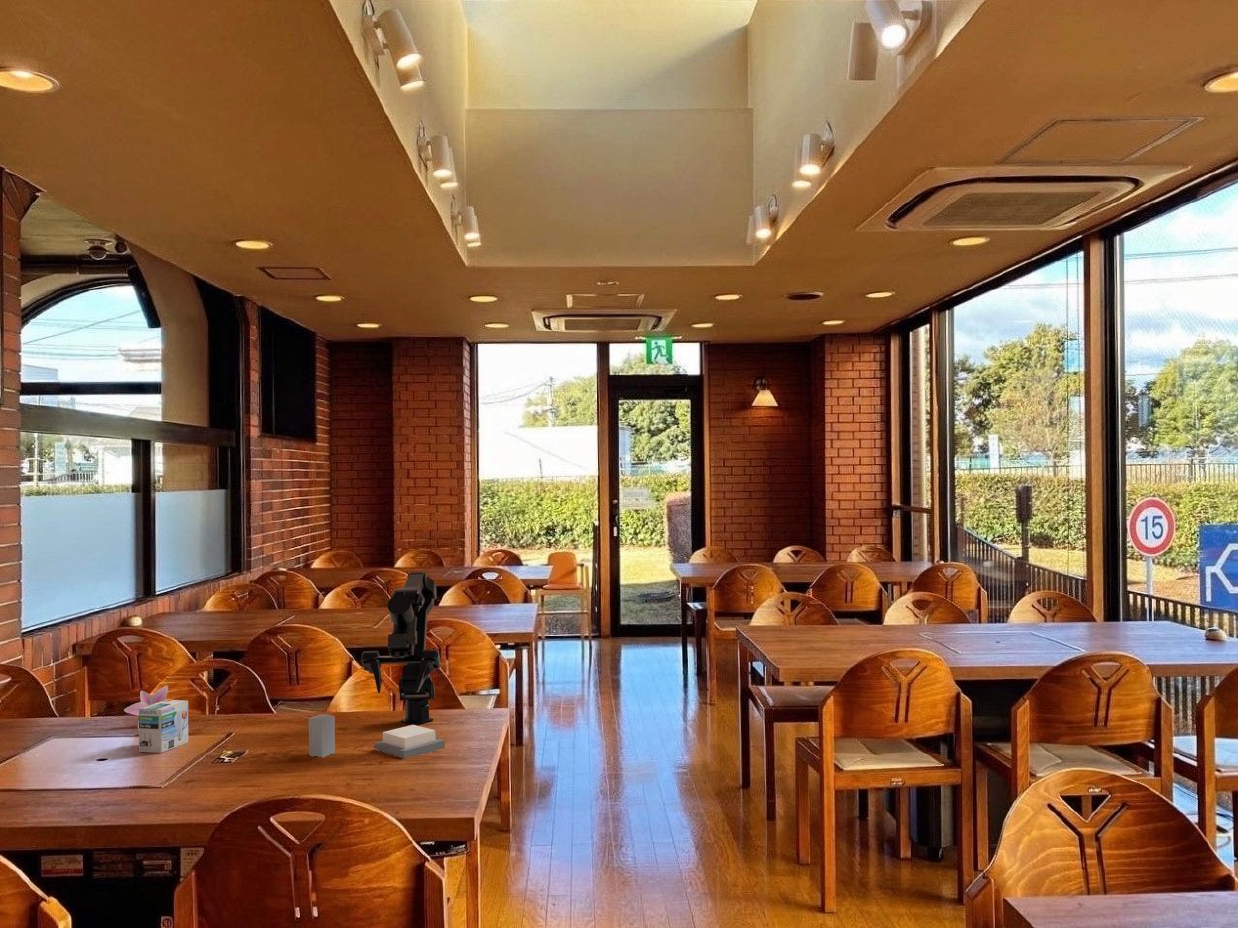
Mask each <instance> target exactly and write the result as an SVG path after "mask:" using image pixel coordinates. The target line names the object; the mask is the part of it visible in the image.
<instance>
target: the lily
mask: <svg viewBox="0 0 1238 928" xmlns="http://www.w3.org/2000/svg"><path fill="white" fill-rule="evenodd" d="M139 693H140V697H139V698H140V702H136V703H133V704H130V705H129V706H127V707H125V708H124V709H123V712H125V713H127V714H132V715H133V716H134V715H135V716H138V717H139V709H140V708H143V707H146V706H149V705H152V704H155V703H158V702H161V701H164V700H167V696H168V693H169V686H168V685H164V686H163V687H161V688H160V689H158V690H156V691H155V692H154V693H153V694H150V693H148V692H146V691H144V690H140V692H139ZM137 729H138V730H139V721H138V723H137Z"/></svg>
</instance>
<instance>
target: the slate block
mask: <svg viewBox="0 0 1238 928" xmlns="http://www.w3.org/2000/svg"><path fill="white" fill-rule="evenodd" d="M335 718H336V716H335V715H331V714H324V713H321V714H317V715H315V716H312V717H308V756H309V755H310V757H314V756H318V757H317V758H320V757H323V758H325V756H326V757H328V756H327V755H329V756H331V755H330V754H332V755H334V754H336V733H335V732H336V730H335V729H336V727H335V726H336V725H335V724H336V723H335V722H336V721H335ZM333 753H334V754H333Z"/></svg>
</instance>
